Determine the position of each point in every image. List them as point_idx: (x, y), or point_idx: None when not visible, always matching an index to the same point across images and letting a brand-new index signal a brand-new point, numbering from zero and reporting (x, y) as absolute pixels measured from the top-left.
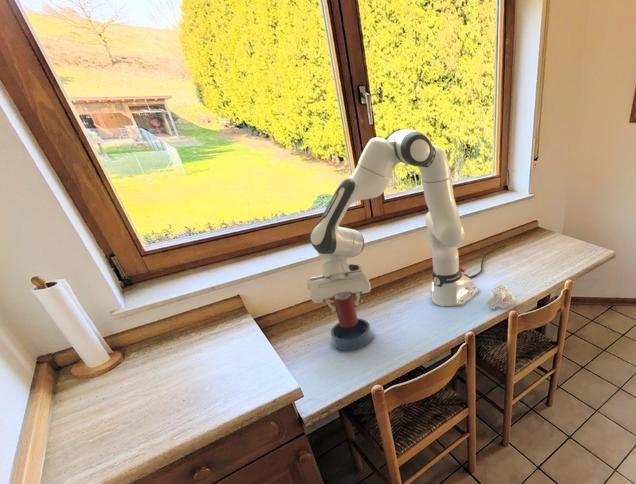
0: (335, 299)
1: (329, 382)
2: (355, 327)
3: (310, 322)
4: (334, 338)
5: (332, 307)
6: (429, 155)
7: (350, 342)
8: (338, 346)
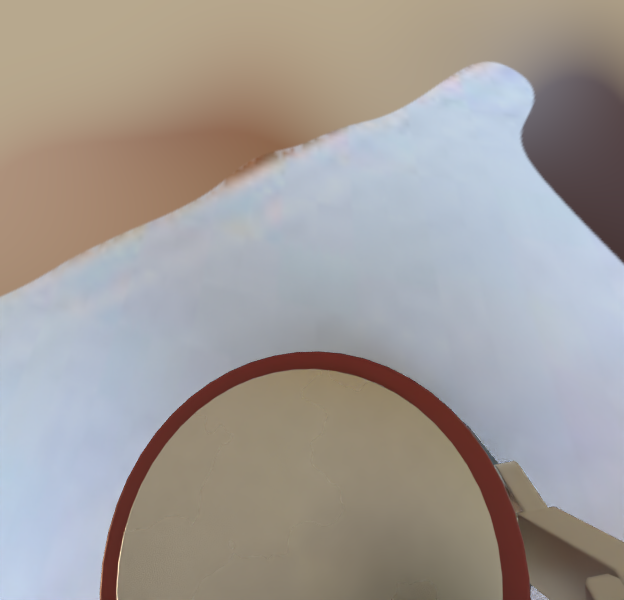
0: (449, 418)
1: (450, 187)
2: None
3: None
4: (474, 435)
5: (517, 493)
6: None
7: None
8: None
